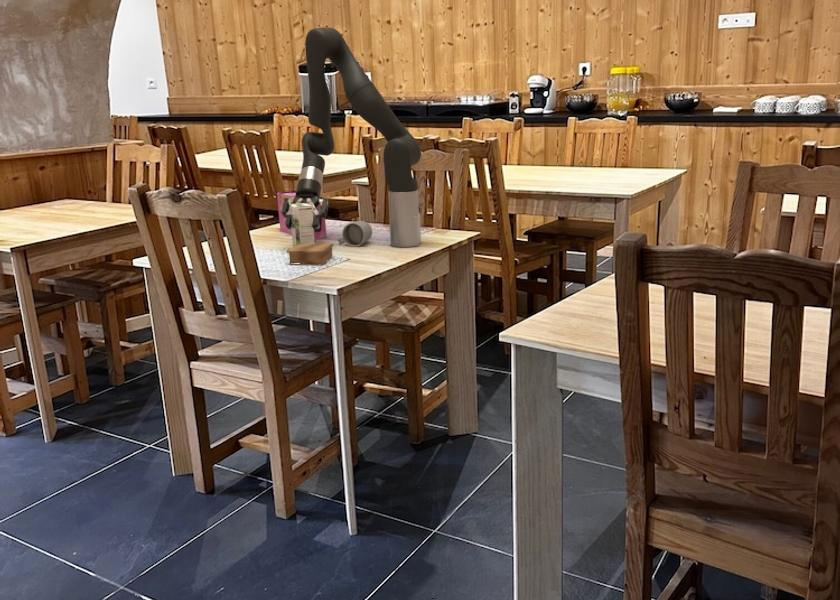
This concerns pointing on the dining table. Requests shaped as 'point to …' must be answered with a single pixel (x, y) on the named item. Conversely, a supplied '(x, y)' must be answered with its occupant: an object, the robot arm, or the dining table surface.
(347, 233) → the ceramic mug
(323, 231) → the gum box
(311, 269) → the dining table surface
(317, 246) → the plinth
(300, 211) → the syrup box
